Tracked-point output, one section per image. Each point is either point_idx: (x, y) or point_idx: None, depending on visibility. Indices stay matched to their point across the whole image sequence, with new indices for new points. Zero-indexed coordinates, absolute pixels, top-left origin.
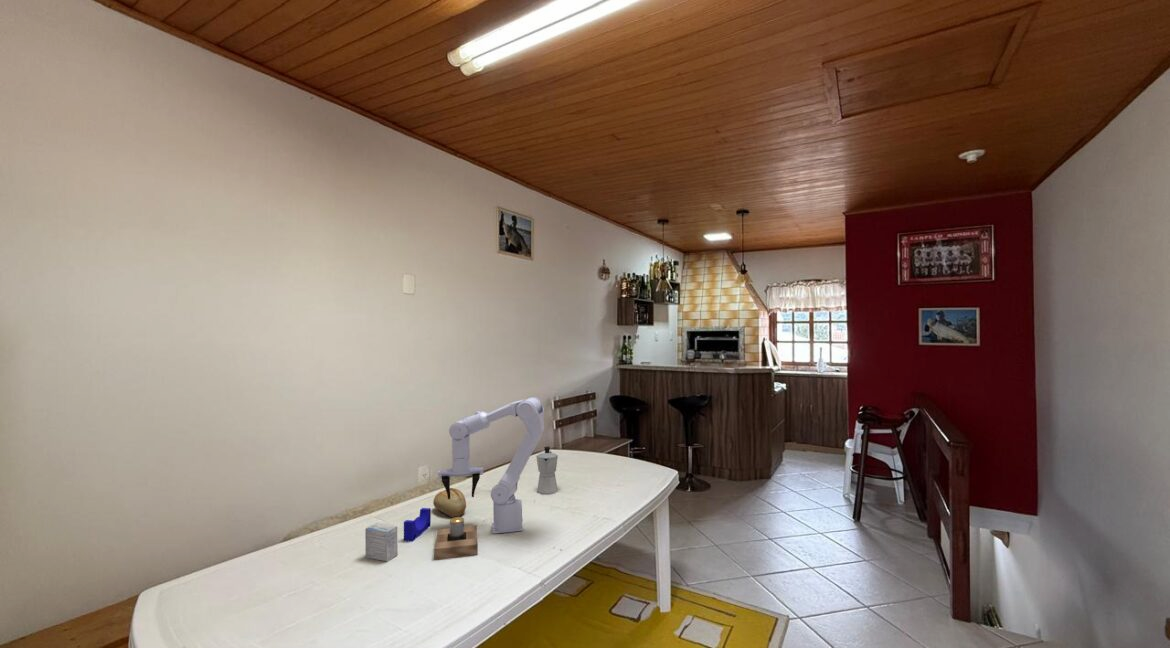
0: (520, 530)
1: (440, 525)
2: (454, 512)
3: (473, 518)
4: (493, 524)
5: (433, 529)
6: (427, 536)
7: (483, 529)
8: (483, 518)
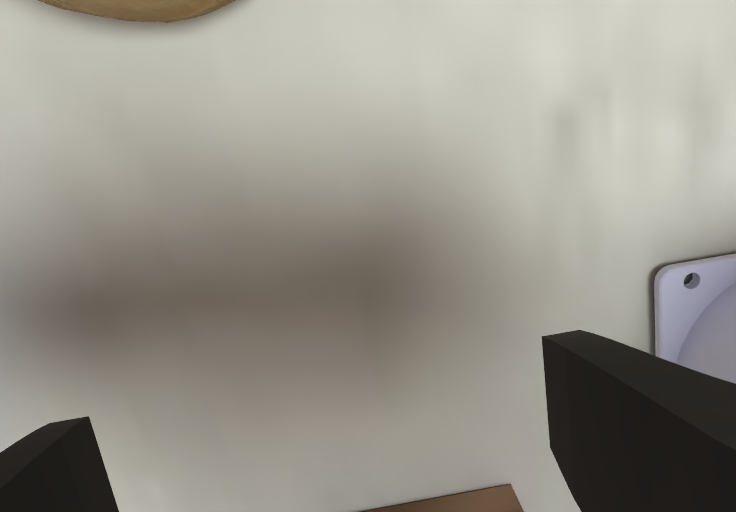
0: None
1: (70, 230)
2: (170, 18)
3: (434, 49)
4: (676, 315)
5: (27, 333)
6: None
7: None
8: (557, 65)
